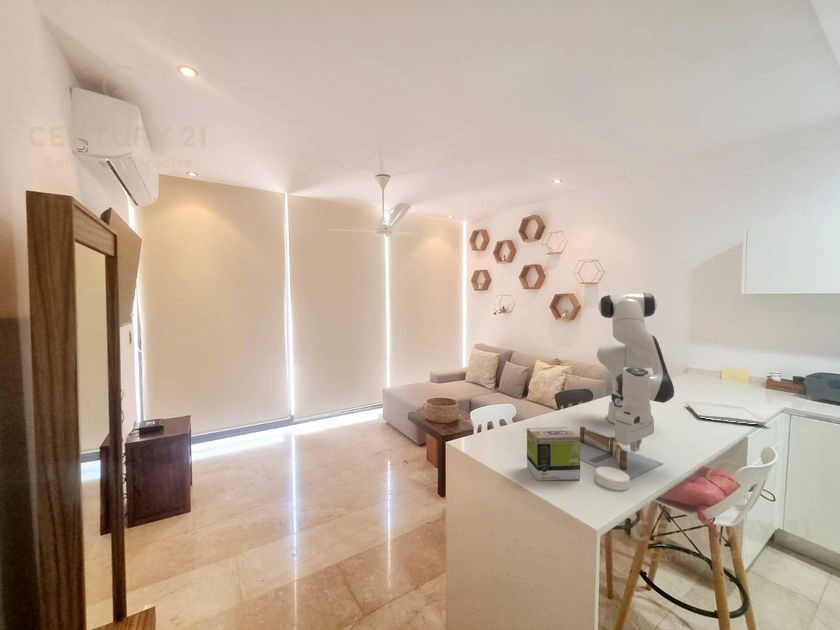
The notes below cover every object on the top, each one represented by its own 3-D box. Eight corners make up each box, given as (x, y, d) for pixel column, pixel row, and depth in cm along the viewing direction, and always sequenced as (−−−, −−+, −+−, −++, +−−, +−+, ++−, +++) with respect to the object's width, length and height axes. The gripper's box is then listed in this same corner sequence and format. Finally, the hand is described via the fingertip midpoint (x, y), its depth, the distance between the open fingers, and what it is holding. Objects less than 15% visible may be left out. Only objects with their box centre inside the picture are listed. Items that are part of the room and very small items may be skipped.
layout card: (591, 438, 149) (591, 437, 149) (662, 463, 125) (663, 462, 125) (556, 449, 137) (556, 448, 137) (627, 480, 113) (627, 479, 113)
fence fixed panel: (582, 441, 146) (582, 426, 146) (617, 454, 133) (618, 438, 133) (578, 442, 145) (578, 427, 144) (614, 456, 132) (614, 439, 131)
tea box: (566, 466, 123) (567, 426, 123) (580, 480, 113) (581, 437, 112) (525, 467, 122) (526, 426, 122) (536, 481, 112) (537, 437, 112)
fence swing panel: (611, 454, 132) (611, 439, 132) (617, 455, 131) (617, 439, 131) (620, 469, 120) (620, 452, 120) (627, 470, 119) (627, 453, 119)
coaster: (601, 490, 108) (601, 479, 107) (590, 474, 117) (590, 464, 117) (635, 493, 106) (635, 482, 106) (621, 477, 116) (621, 467, 116)
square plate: (683, 406, 199) (683, 400, 199) (744, 413, 187) (745, 406, 187) (697, 420, 174) (697, 413, 174) (768, 429, 162) (769, 421, 162)
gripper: (641, 406, 130) (640, 441, 131) (611, 415, 120) (610, 453, 120) (659, 410, 125) (658, 447, 125) (630, 421, 114) (629, 460, 115)
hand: (635, 450), depth 123 cm, fingers closed
